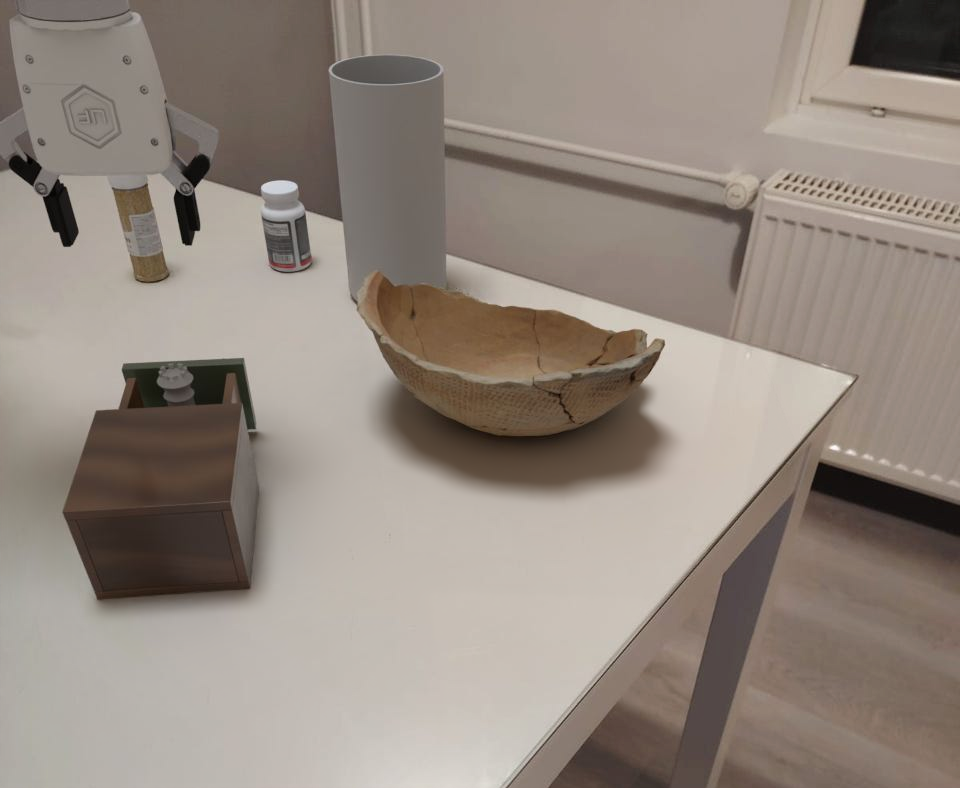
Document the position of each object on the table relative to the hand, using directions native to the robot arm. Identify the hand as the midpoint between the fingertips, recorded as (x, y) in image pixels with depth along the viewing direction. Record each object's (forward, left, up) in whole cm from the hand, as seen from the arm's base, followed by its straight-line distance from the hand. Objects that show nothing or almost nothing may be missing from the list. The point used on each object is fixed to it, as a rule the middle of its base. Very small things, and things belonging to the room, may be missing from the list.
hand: (130, 239), depth 76 cm
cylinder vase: (+23, +33, -21) cm, 46 cm away
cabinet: (+1, -15, -21) cm, 25 cm away
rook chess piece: (+1, -3, -19) cm, 19 cm away
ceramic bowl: (+33, +4, -21) cm, 40 cm away
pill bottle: (+9, +43, -21) cm, 49 cm away
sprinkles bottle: (-9, +41, -21) cm, 47 cm away
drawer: (+1, -2, -20) cm, 20 cm away
